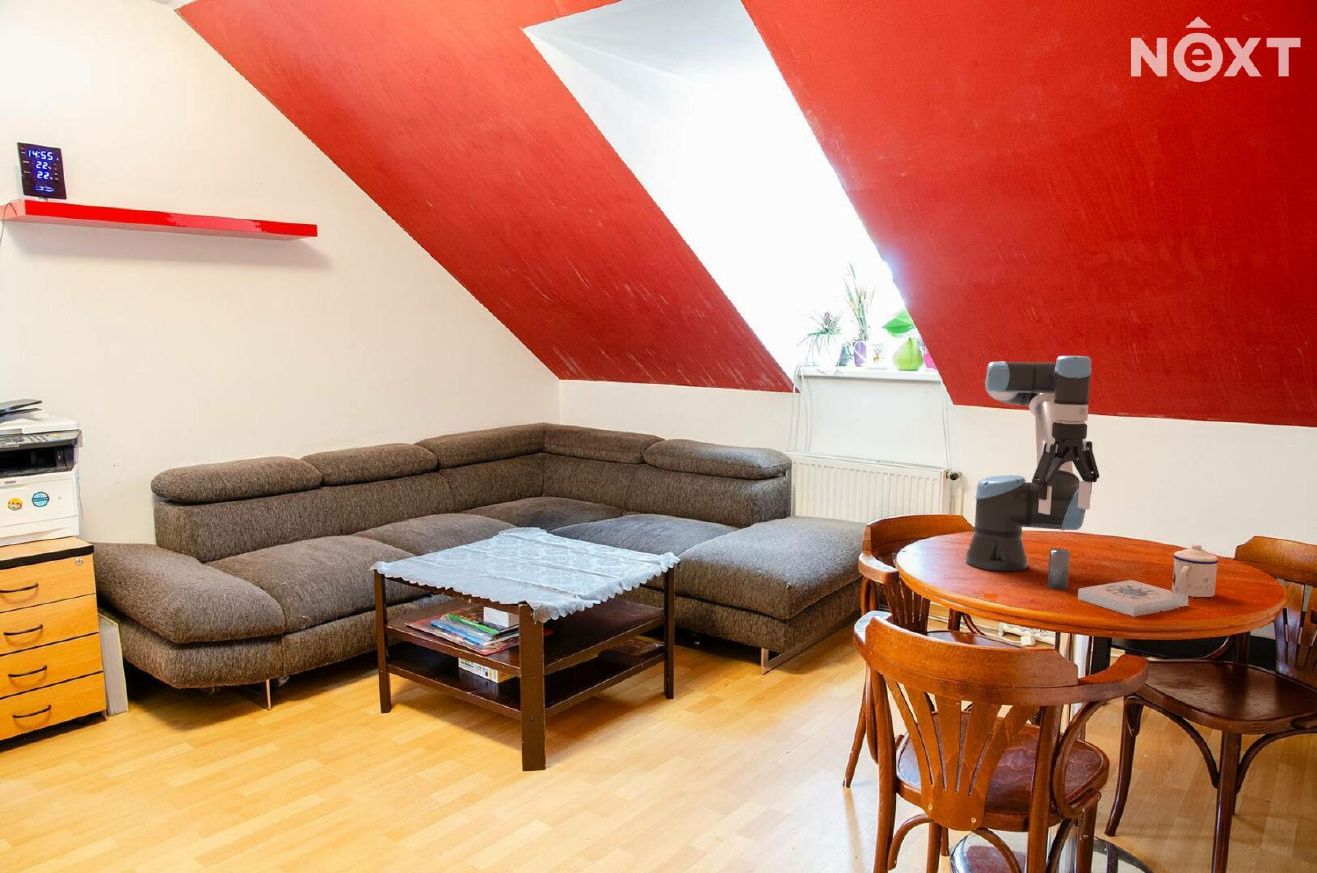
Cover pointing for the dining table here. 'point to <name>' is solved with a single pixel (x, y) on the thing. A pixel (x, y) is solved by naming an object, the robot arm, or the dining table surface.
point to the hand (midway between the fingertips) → (1064, 511)
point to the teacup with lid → (1194, 572)
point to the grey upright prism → (1058, 569)
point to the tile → (1132, 598)
